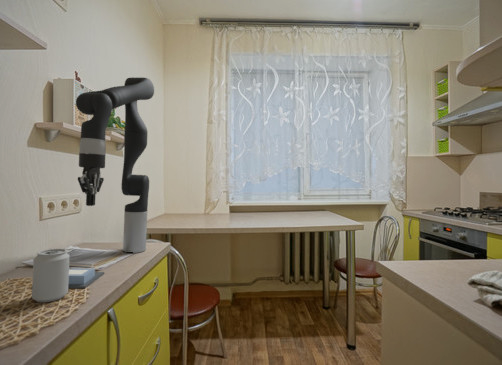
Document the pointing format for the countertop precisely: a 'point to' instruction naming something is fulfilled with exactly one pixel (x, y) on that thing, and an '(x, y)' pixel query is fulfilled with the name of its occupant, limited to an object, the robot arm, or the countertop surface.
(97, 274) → the mat
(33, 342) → the countertop surface
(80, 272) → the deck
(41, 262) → the can
